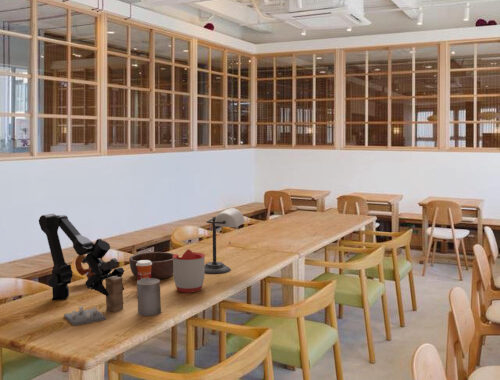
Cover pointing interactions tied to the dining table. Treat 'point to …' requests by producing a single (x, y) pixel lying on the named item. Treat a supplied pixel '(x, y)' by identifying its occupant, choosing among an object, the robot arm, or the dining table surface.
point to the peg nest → (84, 316)
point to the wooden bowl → (154, 264)
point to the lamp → (223, 219)
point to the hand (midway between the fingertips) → (115, 292)
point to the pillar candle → (148, 296)
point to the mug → (80, 268)
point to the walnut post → (114, 294)
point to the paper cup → (144, 269)
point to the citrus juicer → (189, 271)
